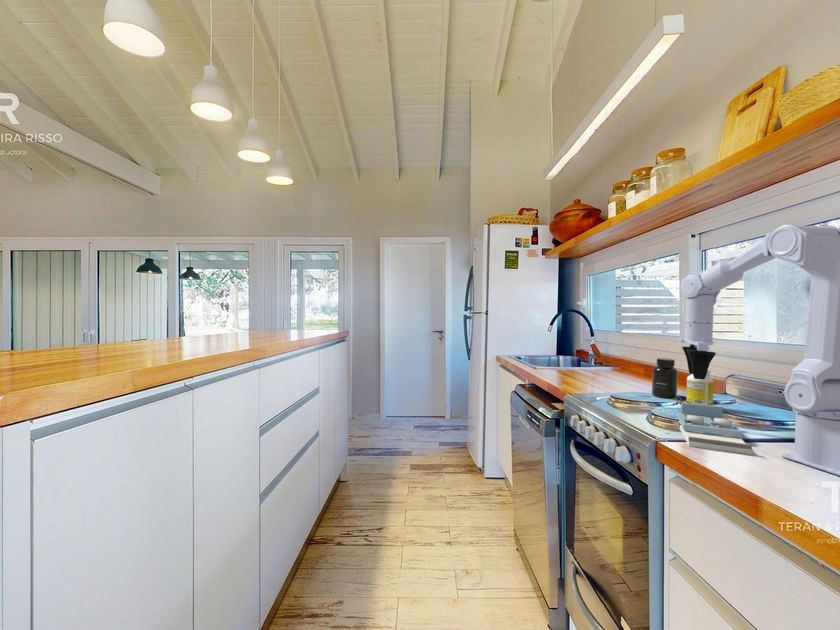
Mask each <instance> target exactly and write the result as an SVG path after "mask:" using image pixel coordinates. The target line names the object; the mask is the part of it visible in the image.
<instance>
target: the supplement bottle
mask: <svg viewBox="0 0 840 630" xmlns="http://www.w3.org/2000/svg"><path fill="white" fill-rule="evenodd" d="M675 363H676V362H675V359H673V358H665V357H664V358H662V357H661V358H660V357H659V358H657V359H656V365H657V366H655V367H653V368H652V381H651V382H652V383H651V394H652V396H654V397H656V398H660V399H669V400H670V399H677V396H678V381H679V378H678V377H679V376H678V375H679V371H678V369H677V368H675Z"/></svg>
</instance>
